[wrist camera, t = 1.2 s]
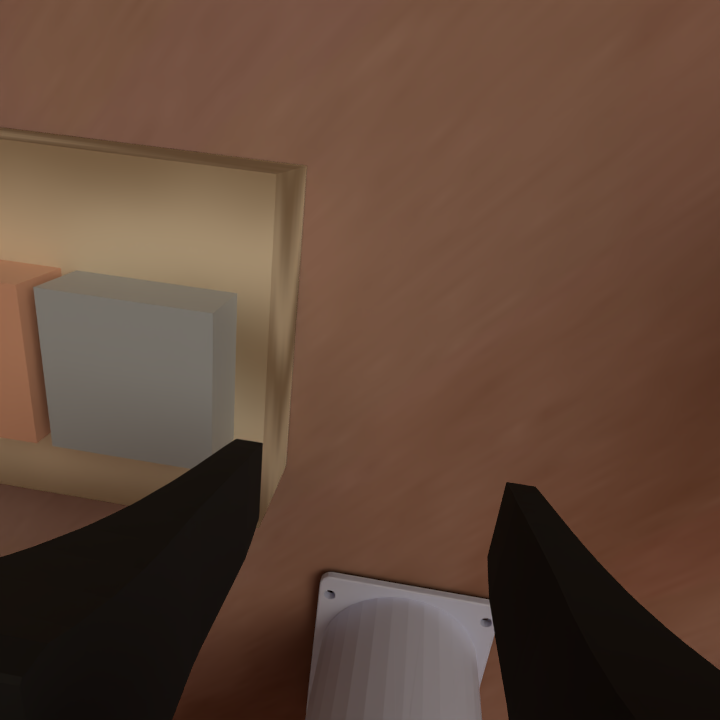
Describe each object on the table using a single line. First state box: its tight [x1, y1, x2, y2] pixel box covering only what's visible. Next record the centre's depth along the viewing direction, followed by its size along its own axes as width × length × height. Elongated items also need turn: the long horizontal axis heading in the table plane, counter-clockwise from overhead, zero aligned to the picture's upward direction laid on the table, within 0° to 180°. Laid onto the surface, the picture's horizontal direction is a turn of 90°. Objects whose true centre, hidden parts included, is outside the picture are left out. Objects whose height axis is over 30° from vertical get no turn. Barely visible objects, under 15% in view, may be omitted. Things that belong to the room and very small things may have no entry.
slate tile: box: [33, 270, 237, 469], centre depth 17 cm, size 5×5×2 cm
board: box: [0, 127, 307, 528], centre depth 20 cm, size 12×14×4 cm
